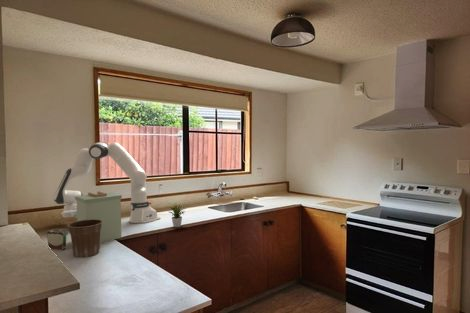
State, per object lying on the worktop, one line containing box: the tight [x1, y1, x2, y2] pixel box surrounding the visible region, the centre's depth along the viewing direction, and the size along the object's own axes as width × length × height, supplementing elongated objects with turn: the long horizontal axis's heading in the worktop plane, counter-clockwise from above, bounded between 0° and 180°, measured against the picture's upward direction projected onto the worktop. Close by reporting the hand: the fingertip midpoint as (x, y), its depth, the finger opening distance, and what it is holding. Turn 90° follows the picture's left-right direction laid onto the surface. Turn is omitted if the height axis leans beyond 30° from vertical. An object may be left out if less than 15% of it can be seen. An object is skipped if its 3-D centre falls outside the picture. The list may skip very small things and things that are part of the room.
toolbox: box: [75, 190, 123, 243], centre depth 186 cm, size 21×17×28 cm
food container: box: [45, 228, 69, 251], centre depth 169 cm, size 12×6×10 cm, turn 74°
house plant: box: [169, 202, 188, 228], centre depth 211 cm, size 14×14×16 cm
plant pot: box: [67, 219, 102, 258], centre depth 160 cm, size 16×16×16 cm
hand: (82, 214), depth 207 cm, fingers open, 8 cm apart
